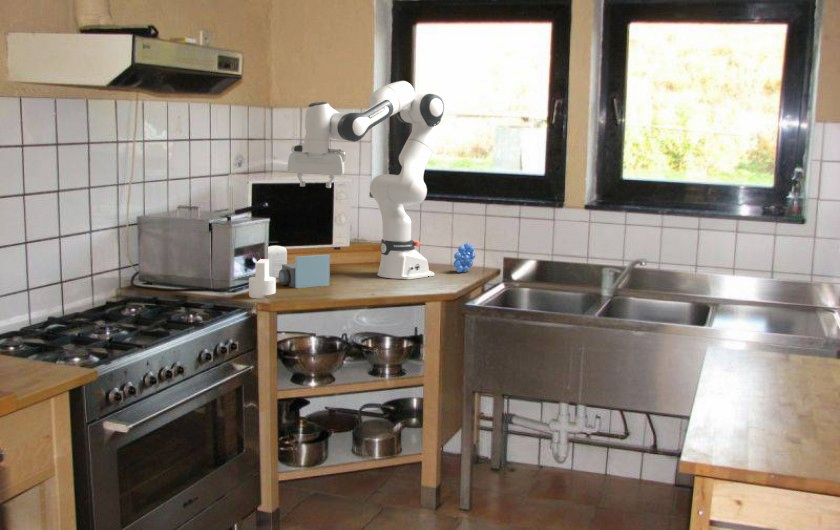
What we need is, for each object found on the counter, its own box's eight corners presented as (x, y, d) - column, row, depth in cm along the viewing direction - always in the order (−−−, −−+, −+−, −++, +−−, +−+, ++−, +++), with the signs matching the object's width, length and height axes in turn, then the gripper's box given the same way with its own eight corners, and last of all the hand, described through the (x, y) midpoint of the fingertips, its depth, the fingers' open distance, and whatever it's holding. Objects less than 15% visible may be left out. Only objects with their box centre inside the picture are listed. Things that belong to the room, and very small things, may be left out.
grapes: (466, 269, 379) (467, 240, 377) (478, 272, 374) (479, 242, 372) (446, 272, 371) (447, 242, 369) (458, 274, 366) (459, 244, 364)
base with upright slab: (273, 299, 310) (273, 263, 308) (246, 298, 310) (246, 262, 308) (277, 293, 319) (277, 259, 317) (251, 292, 319) (251, 258, 317)
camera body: (316, 283, 339) (317, 259, 338) (328, 287, 332) (328, 263, 331) (276, 286, 331) (276, 262, 329) (286, 291, 323) (287, 266, 322)
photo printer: (281, 276, 352) (282, 244, 350) (288, 277, 349) (288, 245, 347) (259, 279, 345) (259, 246, 343) (265, 280, 342) (265, 247, 340)
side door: (328, 286, 331) (328, 254, 329) (329, 286, 330) (329, 254, 328) (295, 289, 324) (295, 256, 322) (296, 289, 323) (296, 257, 321)
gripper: (347, 149, 331) (345, 188, 333) (291, 146, 333) (290, 184, 335) (343, 149, 325) (342, 189, 327) (286, 146, 327) (285, 185, 329)
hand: (315, 187), depth 331 cm, fingers open, 8 cm apart
